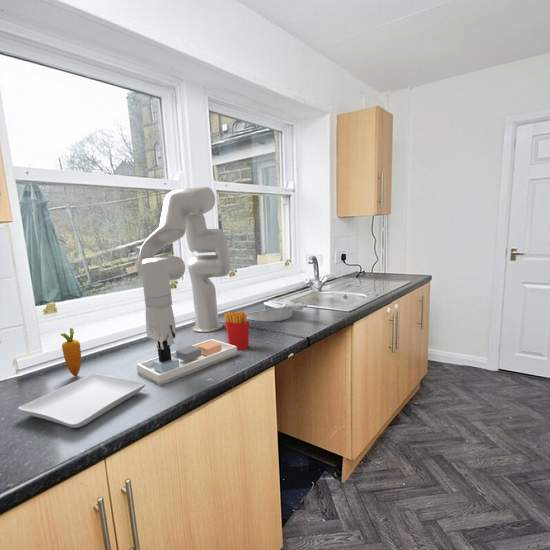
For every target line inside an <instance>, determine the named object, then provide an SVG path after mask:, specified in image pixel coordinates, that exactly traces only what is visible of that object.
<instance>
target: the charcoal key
mask: <svg viewBox="0 0 550 550" xmlns="http://www.w3.org/2000/svg"><path fill="white" fill-rule="evenodd" d="M175 351H176V357H177V358H178V359H181V360H183V361H186V362H187V361H189V360H192V359H195V358H197V357H200V356H201V349H200V348H197V347H194V346H192V345H188V346H185V347H182V348H179V349H176V350H175Z"/></svg>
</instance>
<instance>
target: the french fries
mask: <svg viewBox="0 0 550 550" xmlns="http://www.w3.org/2000/svg"><path fill="white" fill-rule="evenodd" d="M223 315H224V318H225V321H224V323H225V328H226V333H227V334H226V335H227V341H228V344H231V345H234V346H237V351H238V350H239V351H242V350H243V351H244V350H246V349H248V348H249V333H250V332H249V330H250V327H249V325H250V323H249V321H250V320H248V319H247V315H246V313H245V312H244V311H243V312H242V311H233V312H231V311H225V312H224V313H223Z"/></svg>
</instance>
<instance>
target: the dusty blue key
mask: <svg viewBox="0 0 550 550" xmlns="http://www.w3.org/2000/svg"><path fill="white" fill-rule="evenodd" d="M177 367H179V359H176V358H174V357H172V356H171V360H168V361H166V362H163V363H162V362H160V361H159V359H158V360H155V361H153V369H155V370H157V371H159V372H161V373H164V372H167V371H169V370H172V369H175V368H177Z"/></svg>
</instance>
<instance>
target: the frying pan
mask: <svg viewBox="0 0 550 550" xmlns="http://www.w3.org/2000/svg"><path fill="white" fill-rule="evenodd" d="M263 305H264V308H263V309H262V310H257V311H251V312H247V313H245V314H246V315H247V321H253V320H254V321H255V322H265V323H267V322H281V321H284V320H288V319H290V318H291V317H292V315H293V310H296V311H302V310H303V309H304V308H308V304H306V303H304V302H297V301H296V302H293V301H291V302H287V303H286V302H285V303H283V304H280V303H276V302H273V301H264V302H263ZM254 321H253V322H254Z"/></svg>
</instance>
